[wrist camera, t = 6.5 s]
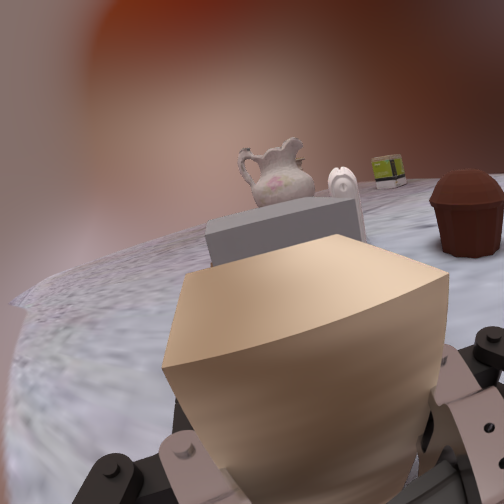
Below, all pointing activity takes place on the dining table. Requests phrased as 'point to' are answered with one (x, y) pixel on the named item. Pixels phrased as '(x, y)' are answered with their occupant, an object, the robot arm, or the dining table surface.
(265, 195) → the ceramic pitcher
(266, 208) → the slate top block
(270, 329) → the birch pillar block
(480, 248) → the muffin
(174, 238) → the dining table surface
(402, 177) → the tea box
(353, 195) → the photo printer
